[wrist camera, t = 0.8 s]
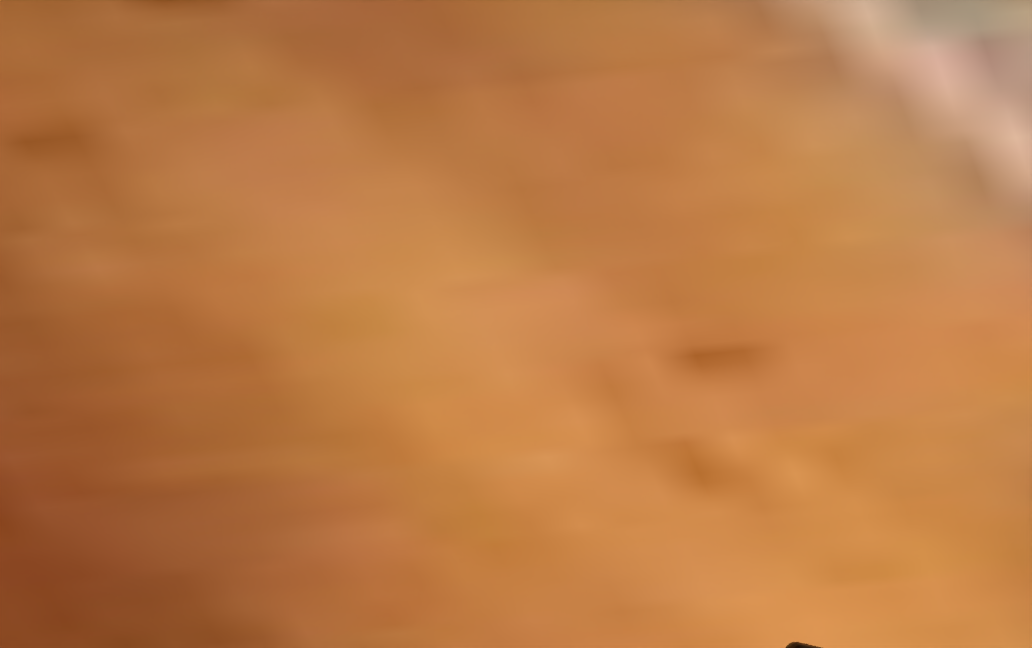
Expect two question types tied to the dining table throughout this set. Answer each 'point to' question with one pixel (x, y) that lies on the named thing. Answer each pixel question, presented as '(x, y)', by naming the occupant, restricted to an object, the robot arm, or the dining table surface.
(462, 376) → the dining table surface
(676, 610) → the dining table surface
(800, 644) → the robot arm
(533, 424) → the dining table surface
